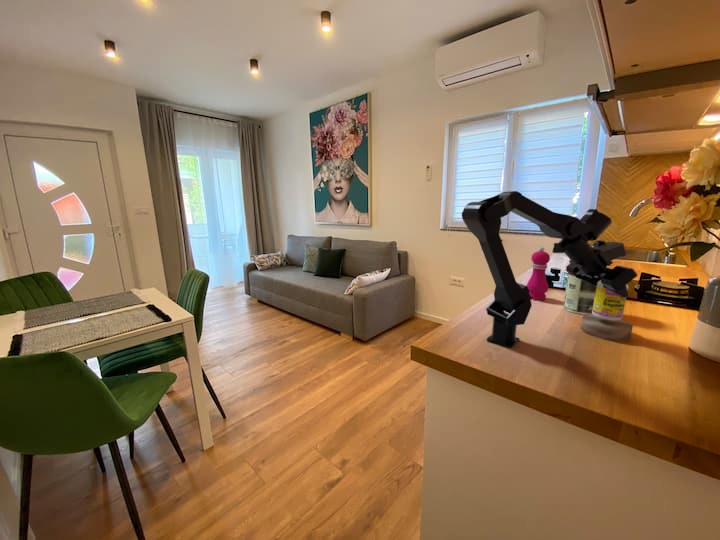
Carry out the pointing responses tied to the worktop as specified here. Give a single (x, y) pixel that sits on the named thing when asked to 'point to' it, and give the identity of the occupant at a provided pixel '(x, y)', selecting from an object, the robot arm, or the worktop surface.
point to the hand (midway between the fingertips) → (616, 292)
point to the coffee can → (579, 296)
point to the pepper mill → (539, 275)
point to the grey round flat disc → (606, 328)
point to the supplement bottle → (608, 304)
